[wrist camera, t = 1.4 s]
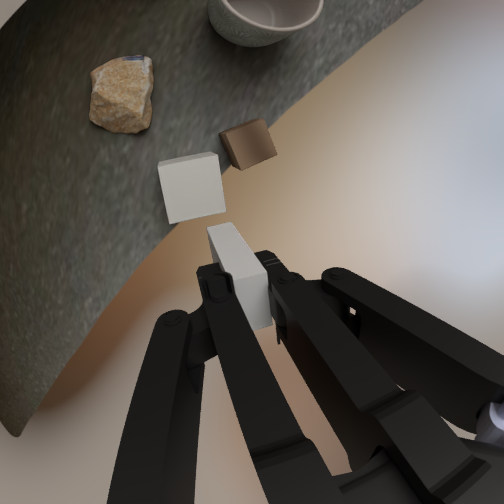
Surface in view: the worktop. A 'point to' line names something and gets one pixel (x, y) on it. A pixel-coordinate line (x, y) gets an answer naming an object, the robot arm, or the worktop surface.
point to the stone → (122, 94)
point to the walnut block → (248, 144)
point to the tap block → (192, 186)
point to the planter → (261, 19)
